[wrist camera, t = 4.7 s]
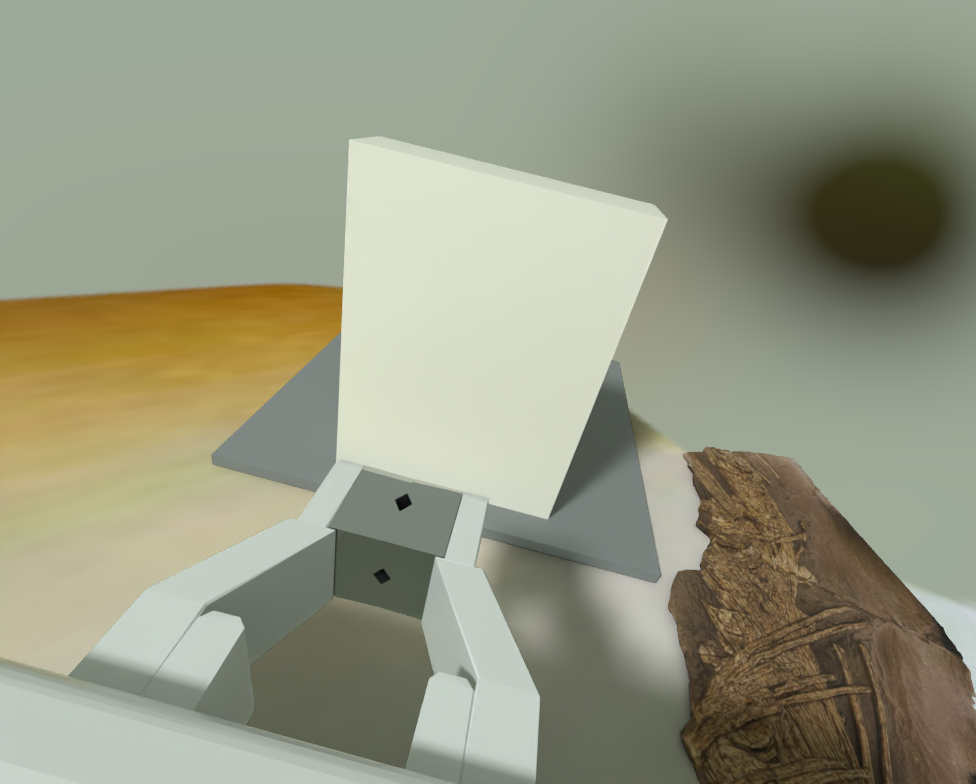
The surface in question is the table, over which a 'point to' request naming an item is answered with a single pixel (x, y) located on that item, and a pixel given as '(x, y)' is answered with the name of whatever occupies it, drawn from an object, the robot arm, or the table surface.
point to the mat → (566, 533)
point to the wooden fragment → (809, 644)
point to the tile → (479, 318)
